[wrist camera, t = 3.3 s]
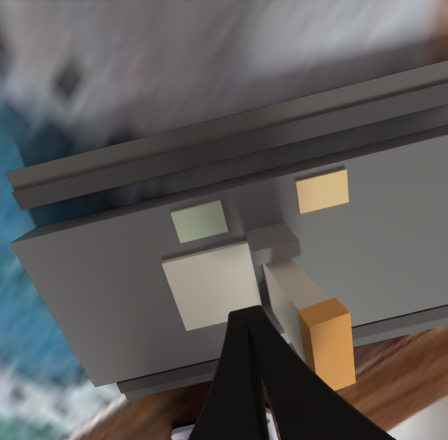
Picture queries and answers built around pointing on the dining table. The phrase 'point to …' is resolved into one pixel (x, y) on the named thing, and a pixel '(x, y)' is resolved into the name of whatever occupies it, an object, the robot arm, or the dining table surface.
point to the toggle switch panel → (246, 254)
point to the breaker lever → (312, 322)
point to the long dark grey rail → (231, 136)
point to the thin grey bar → (359, 337)
